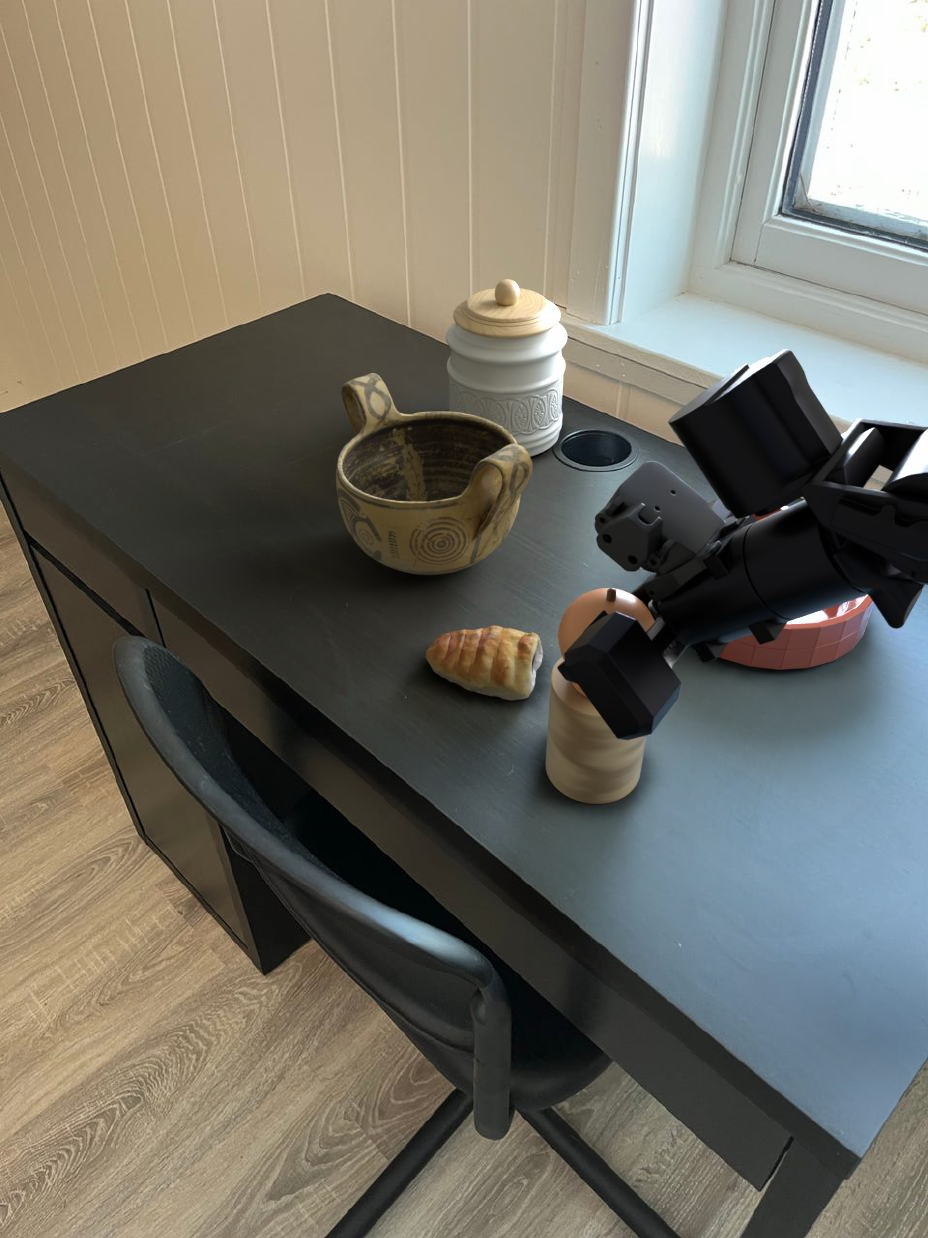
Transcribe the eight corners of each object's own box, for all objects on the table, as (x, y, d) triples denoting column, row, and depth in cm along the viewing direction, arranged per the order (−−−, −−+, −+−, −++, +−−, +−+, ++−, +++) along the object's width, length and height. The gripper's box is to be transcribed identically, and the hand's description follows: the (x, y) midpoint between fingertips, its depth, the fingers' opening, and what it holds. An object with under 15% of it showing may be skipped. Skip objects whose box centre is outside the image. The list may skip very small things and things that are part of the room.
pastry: (418, 690, 77) (416, 655, 74) (437, 637, 82) (436, 602, 79) (532, 707, 75) (534, 671, 73) (545, 651, 80) (547, 616, 78)
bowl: (877, 574, 87) (892, 529, 84) (847, 700, 75) (863, 653, 72) (686, 528, 93) (693, 485, 90) (629, 637, 81) (635, 592, 78)
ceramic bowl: (578, 567, 89) (589, 424, 79) (442, 650, 80) (436, 501, 71) (426, 475, 102) (419, 342, 92) (294, 538, 93) (271, 399, 83)
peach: (662, 662, 65) (676, 573, 60) (633, 724, 61) (646, 633, 56) (575, 637, 68) (581, 549, 63) (541, 695, 63) (545, 605, 58)
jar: (489, 396, 115) (490, 249, 104) (582, 425, 109) (593, 273, 98) (425, 441, 107) (418, 287, 96) (522, 474, 101) (526, 315, 90)
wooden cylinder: (652, 749, 71) (666, 662, 66) (622, 817, 67) (636, 729, 61) (565, 721, 74) (572, 634, 68) (531, 784, 69) (535, 697, 63)
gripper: (763, 380, 56) (588, 484, 68) (610, 530, 44) (432, 623, 57) (863, 533, 57) (674, 608, 70) (740, 716, 46) (540, 767, 58)
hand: (587, 644), depth 63 cm, fingers closed on peach, 6 cm apart
